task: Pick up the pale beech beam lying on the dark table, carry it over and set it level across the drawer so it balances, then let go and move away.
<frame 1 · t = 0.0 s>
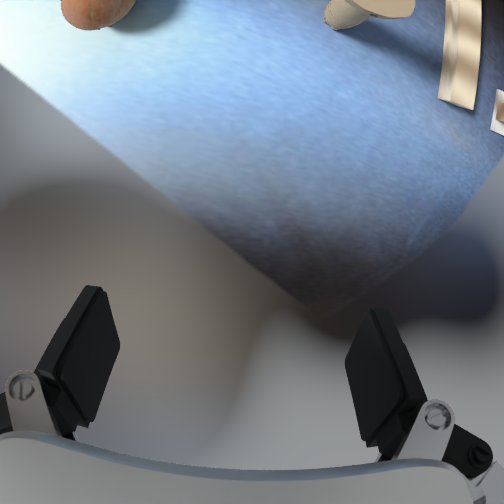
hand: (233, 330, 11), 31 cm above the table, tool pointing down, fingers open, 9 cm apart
handle: (334, 19, 28), on the table
onion: (114, 2, 26), on the table
beam: (454, 28, 27), on the table
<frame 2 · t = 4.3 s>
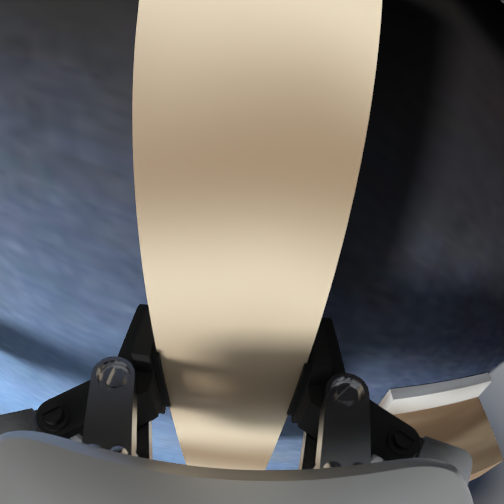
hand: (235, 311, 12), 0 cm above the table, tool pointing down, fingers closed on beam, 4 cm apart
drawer: (422, 409, 18), on the table
beam: (235, 301, 12), on the table, touching gripper
when the fingers open (8 cm above the table, at t = 8.1 s): beam stays where it is, resting on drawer.
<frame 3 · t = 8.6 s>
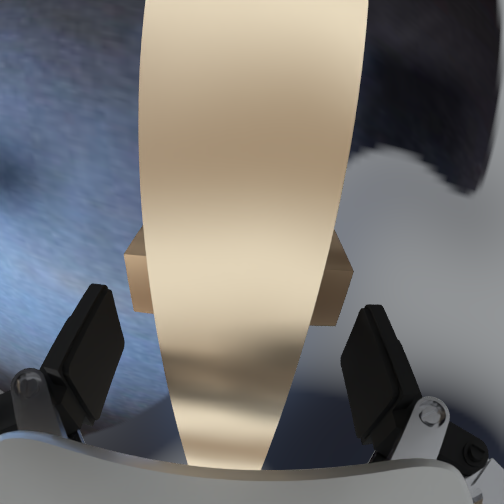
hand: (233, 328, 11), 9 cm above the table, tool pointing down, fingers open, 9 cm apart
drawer: (241, 220, 18), on the table
beam: (234, 293, 12), point 7 cm above the table, touching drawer
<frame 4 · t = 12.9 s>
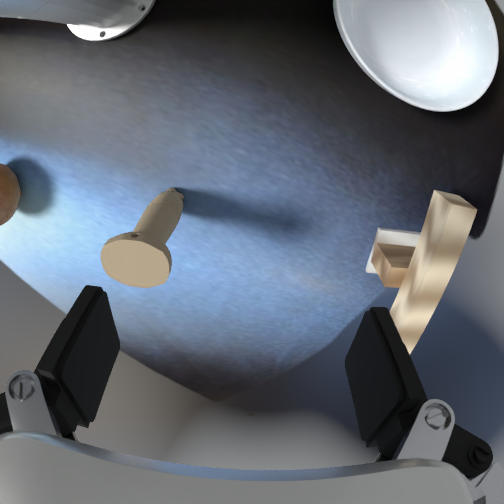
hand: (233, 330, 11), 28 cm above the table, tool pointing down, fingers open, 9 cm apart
handle: (172, 198, 38), on the table
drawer: (398, 251, 42), on the table
serving bowl: (403, 25, 26), on the table
onion: (10, 183, 36), on the table
beam: (416, 278, 36), point 7 cm above the table, touching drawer
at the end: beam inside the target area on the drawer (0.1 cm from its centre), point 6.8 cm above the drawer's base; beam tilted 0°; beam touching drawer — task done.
